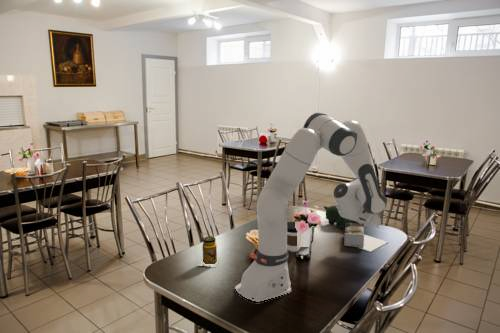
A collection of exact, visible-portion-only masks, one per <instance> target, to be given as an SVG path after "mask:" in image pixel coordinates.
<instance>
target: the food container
mask: <svg viewBox="0 0 500 333" xmlns="http://www.w3.org/2000/svg"><path fill="white" fill-rule="evenodd" d="M316 226H317V225H316ZM316 226H313V227H312V242H311V243H313V241H314V236H315V228H316Z"/></svg>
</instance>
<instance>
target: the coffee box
mask: <svg viewBox="0 0 500 333" xmlns="http://www.w3.org/2000/svg"><path fill="white" fill-rule="evenodd" d="M364 228H365V226H363V225H360V224H359V223H348V222H346V226H345V231H344V239H343V240H344V242H343V243H344V246H345V247H355V248H357V247H364V235H365V229H364Z"/></svg>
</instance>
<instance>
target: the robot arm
mask: <svg viewBox="0 0 500 333" xmlns="http://www.w3.org/2000/svg"><path fill="white" fill-rule="evenodd" d="M322 148H323V149H325V150H326V151H328V152H330V154H332V155H334V156H338V157H341V158H342V160H343V161H344V163H345V164H346V165H347V167H348V168H349V169H350V171H352V173H353V174H354V175H355V177H356V178H353V180H351V181H350V182H341V183H339V184H338V185H336V187H334V189H333V198H334V200H335V203H336V205H335V206H336V207H337V209H338V213H339V214H340V216H341V217H343V218H346V219H349V220H353V221H356V222H358V223H360V225H363V227H367V226H370V227H373V228H376V229H377V228H379V227H380V226H381V223H382V220H381V219H382V218H380V216H379V214H381V213H382V212H383V211H385V209H386V208H387V205H388V198H387V197H386V196H385V195H384V193H383V192H381V188H380V185H379V182H378V179H377V176H376V173H375V169H374V165H373V162H372V161H373V160H372V158H371V154H370V148H369V143H368V140H367V137H366V134H365V131H364V128H363V127H362V125H361V124H360V122H358V121H356V120H350V119H349V120H345V121H343V122H340V121H339V120H337V119H336V118H334V117H332V116H330V115H328V114H325V113H323V112H315V113H312V115H310V116H309V117H308V118H307V119H306V121H305V122H304V124H303V126H302V128H301V127H300V128H299V129H298V130H296V132H295V134H294V135H293V136H292V137H291V139H290V140H289V142H288V143H287V145H286V146H285V148H284V150H283V152H282V154H281V156H280V158H279V159H278V161H277V163H276V165H275V167H274V168H273V170H272V171H271V173H270V175H269V177H268V179H267V180H266V182H265V184H264V186H263V188H262V190H261V191H260V193H259V196H258V199H257V202H256V217H257V218H256V219H257V220H256V221H257V231H258V233H257V235H258V239H257V240H258V246H257V247H258V248H257V249H256V253H255V252H250V254H249V258H250V259H253V262H252V263H251V264H250V265H249V266H248V268H246V270H245V271H244V272H243V273H242V276H241V281H240V283H238V284H237V285H235V286H234V290H235V289H236V291H237V292H238V293H239V294H241V295H242V296H243V297H245V298H247V299H250V300H252V301H256V302H260V301H264V300H268V299H271V298H274V299H276V298H275V297H277V298H279V297H278V296H280V297H282V296H281V295H283V296H285V295H288V294H291V293H292V287H291V284H292V282H291V280H290V273H289V272H290V271H289V266H288V260H289V250H288V249H287V222H288V204H289V202H290V199H291V198H292V196H293V194H294V193H295V191H296V190H297V188H298V187H299V186H300V184H301V183H302V181H303V180H304V178H305V177H306V175H307V173H308V172H309V169H310V167H311V166H312V164H313V163H314V160H315V158H316V156H317V154H318V152H319V150H321V149H322ZM236 291H235V292H236ZM290 292H291V293H290ZM287 293H288V294H287ZM284 294H285V295H284ZM252 298H254V299H252ZM271 300H272V299H271ZM268 301H269V300H268Z"/></svg>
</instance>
